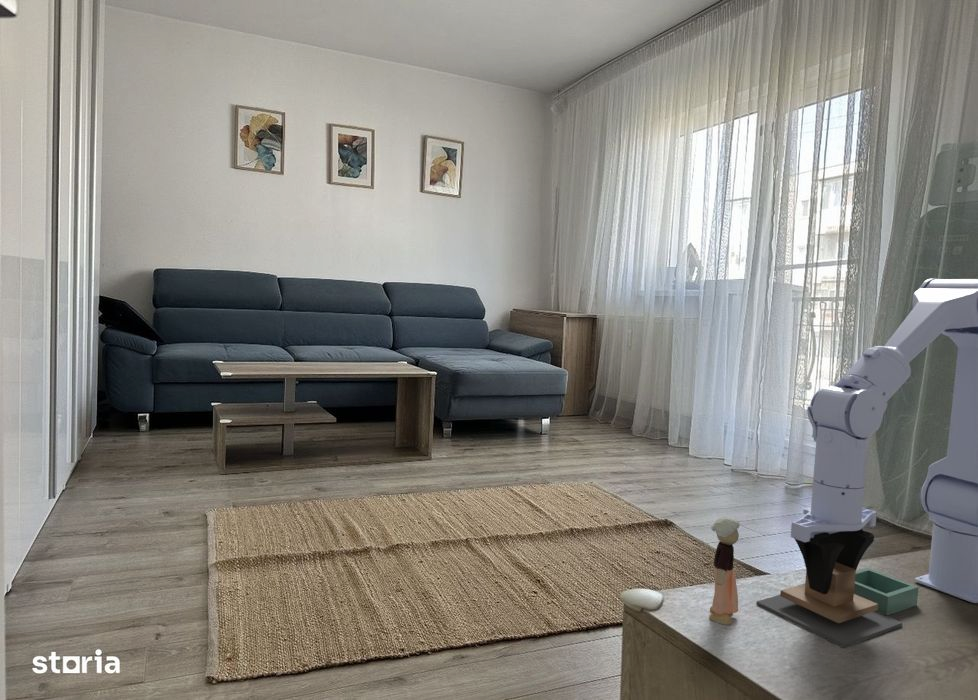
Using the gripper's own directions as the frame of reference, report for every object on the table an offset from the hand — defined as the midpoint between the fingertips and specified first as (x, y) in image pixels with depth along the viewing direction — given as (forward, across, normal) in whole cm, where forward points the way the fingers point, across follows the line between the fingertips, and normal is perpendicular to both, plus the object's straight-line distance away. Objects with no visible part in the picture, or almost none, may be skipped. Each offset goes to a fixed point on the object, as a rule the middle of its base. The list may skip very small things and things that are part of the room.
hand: (829, 587), depth 86 cm
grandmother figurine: (+4, +12, -6) cm, 14 cm away
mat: (+4, 0, 0) cm, 4 cm away
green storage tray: (+4, -10, 0) cm, 11 cm away
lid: (+2, 0, 0) cm, 2 cm away
